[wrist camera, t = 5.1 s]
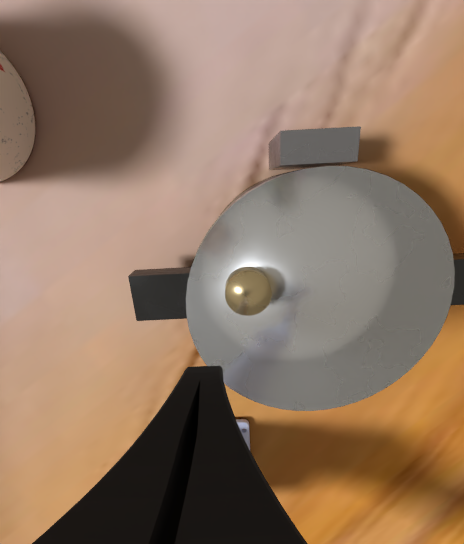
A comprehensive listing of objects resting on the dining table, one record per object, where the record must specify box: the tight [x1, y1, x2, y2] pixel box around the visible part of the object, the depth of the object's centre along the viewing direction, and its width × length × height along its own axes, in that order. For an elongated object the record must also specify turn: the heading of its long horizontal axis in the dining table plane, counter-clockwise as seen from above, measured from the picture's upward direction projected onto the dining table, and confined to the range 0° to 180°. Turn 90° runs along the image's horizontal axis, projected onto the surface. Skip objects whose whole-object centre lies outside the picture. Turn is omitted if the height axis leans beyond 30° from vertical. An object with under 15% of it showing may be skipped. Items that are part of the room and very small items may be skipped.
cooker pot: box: [128, 127, 464, 321], centre depth 17 cm, size 16×22×4 cm
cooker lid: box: [186, 166, 455, 411], centre depth 15 cm, size 15×15×2 cm
